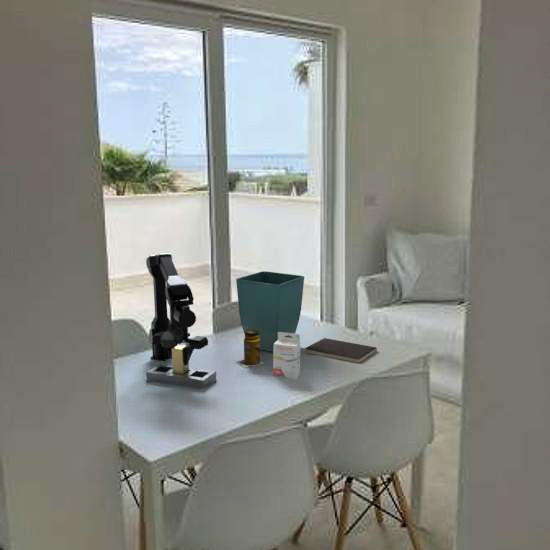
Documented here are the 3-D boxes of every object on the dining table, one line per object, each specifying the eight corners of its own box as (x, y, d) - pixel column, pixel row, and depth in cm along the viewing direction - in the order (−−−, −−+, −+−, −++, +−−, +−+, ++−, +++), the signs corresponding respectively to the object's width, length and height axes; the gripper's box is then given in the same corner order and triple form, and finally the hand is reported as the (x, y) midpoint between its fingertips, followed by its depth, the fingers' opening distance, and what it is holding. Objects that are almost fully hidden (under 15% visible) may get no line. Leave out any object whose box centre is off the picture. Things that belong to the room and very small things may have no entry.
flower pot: (305, 343, 240) (305, 275, 234) (279, 357, 223) (278, 284, 218) (264, 336, 250) (263, 270, 245) (236, 348, 234) (234, 279, 228)
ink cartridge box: (272, 376, 204) (272, 335, 201) (277, 371, 209) (277, 331, 206) (296, 378, 201) (296, 337, 198) (300, 373, 206) (300, 333, 203)
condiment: (265, 363, 217) (264, 332, 215) (245, 368, 212) (244, 336, 210) (254, 358, 223) (254, 327, 220) (235, 362, 218) (234, 331, 216)
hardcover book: (358, 364, 216) (358, 358, 216) (304, 353, 229) (304, 348, 229) (376, 352, 230) (376, 346, 229) (324, 342, 242) (324, 337, 242)
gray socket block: (146, 380, 201) (146, 372, 200) (160, 371, 209) (160, 363, 209) (203, 389, 193) (203, 380, 192) (216, 379, 201) (216, 371, 201)
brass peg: (172, 374, 200) (171, 348, 198) (178, 370, 203) (177, 345, 201) (183, 375, 198) (182, 350, 196) (189, 371, 202) (188, 346, 200)
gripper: (141, 323, 193) (143, 368, 196) (191, 329, 186) (193, 376, 189) (159, 315, 203) (161, 358, 206) (208, 320, 196) (209, 364, 199)
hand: (180, 364), depth 200 cm, fingers closed on brass peg, 4 cm apart
